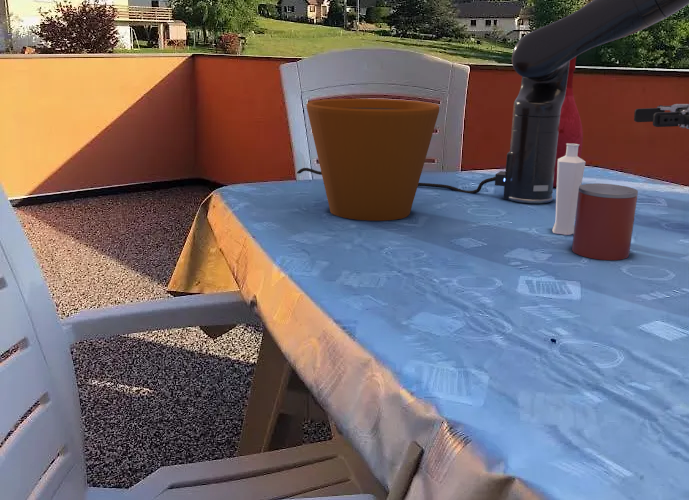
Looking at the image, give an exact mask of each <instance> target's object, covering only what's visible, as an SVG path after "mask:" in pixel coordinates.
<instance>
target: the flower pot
mask: <svg viewBox="0 0 689 500" xmlns="http://www.w3.org/2000/svg"><path fill="white" fill-rule="evenodd" d="M306 111H307V116H308V120H309V124H310V125H309V126H310V129H311V134H312V137H313V142H314V147H315V151H316V155H317V159H318V164H319V168H320V172H321V173H322V175H321V176H322V182H323V185H324V191H325V194H326V199H327V203H328V208H329V212H330V213H331V215H333V216H337V217H339V218H344V219H350V220H356V221H368V222H369V221H370V222H371V221H373V222H374V221H376V222H377V221H379V222H381V221H382V222H383V221H393V220H395V221H396V220H400V219H401V220H402V219H405V218H407V217H409V216H410V214H411V211H412V207H413V204H414V201H415V196H416V193H417V190H418V187H419V186H418V183H420V179H421V176H422V173H423V169H424V165H425V162H426V159H427V155H428V152H429V148H430V145H431V141H432V138H433V134H434V131H435V127H436V124H437V120H438V117H439V113H440V105H438V104H437V103H434V102H433V103H432V102H427V101H421V100H408V99H394V98H393V99H390V98H327V99H314V100H310V101H308V102H307V103H306Z"/></svg>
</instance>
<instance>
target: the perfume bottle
mask: <svg viewBox="0 0 689 500" xmlns="http://www.w3.org/2000/svg"><path fill="white" fill-rule="evenodd" d="M566 145H567V148H566V155H565V156H563V157H561V158H559V159H558V163H557V187H556V190H555V191H556V192H555V219H554V221H555V222H554V224H553V227H552V233H553V234H556V235H557V234H558V235H564V236H570V235H574V226H575V217H576V208H577V199H578V191H579V186H580V185H583V184H582V183H583V178H584V173H585V168H586V161H585V160H584V159H583V158H582V157H581V158H579V157H578V156H577V155H578V146H579V144H573V143H567V144H566Z"/></svg>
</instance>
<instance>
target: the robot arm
mask: <svg viewBox="0 0 689 500" xmlns="http://www.w3.org/2000/svg"><path fill="white" fill-rule="evenodd" d="M688 5H689V0H591V1H590V2H588V3H586V5H585V4H584V6H582V7H580V8H579V9H578V10H575V11H574V12H572V13H571V14H569V15H567V16H564V17H563V18H561V19H558V20H555V21H554V22H551V23H549V24H546V25H544V26H543V27H540V28H538V29H534V30H533V31H530V32H528V33H527V34H525V35H524V36H522V37H521V38H520V39H519V40H518V42H516V44H515V46H514V48H513V50H512V54H511V65H512V68H513V70H514V71H515V72H516V74H518V75H519V76H520V77H521V82H520V89H519V92H518V94H517V96H516V98H515V99H514V101H513V105H512V106H513V107H512V121H511V131H510V132H511V134H510V143H509V144H510V145H509V151H508V152H507V153H506V159H505V160H506V161H505V170H499V172H497V173H495V176H493V177H489V178H485V179H483V180H482V181H480V182H479V184H478V186H477V187H476V189H472V190H466V189H461V188H458V187H455V186H452V185H449V184H441V183H430V182H419V183H418V187H427V188H439V189H447V190H451V191H454V192H459V193H466V194H471V195H472V194H474V195H475V194H479V192H481V190H482V189H483V188H482V187H483V186H484V185H486V184H487V183H491V182H494V186H495V187H496V186H498V187H503V195H502V196H503V197H502V199H503V200H508V201H512V202H516V203H522V204H547V203H551V202H552V201H553V193H554V187H553V182H554V173H555V163H556V153H557V144H558V134H559V124H560V114H561V107H562V104H563V102H564V99H565V94H566V87H567V80H568V72H569V64H570V60H571V59H573V58H575V57H576V58H577V57H578V56H580V55H582V54H583V53H585V52H587V51H589V50H591V49H594V48H596V47H599V46H602V45H604V44H607V43H610V42H614V41H617V40H619V39H622V38H626V37H628V36H631V35H633V34H635V33H637V32H640V31H642V30H644V29H645V30H646V29H647V28H649V27H651V26H654V25H655V24H657V23H659V22H661V21H662V20H664V19H666V18H669V17H670V16H672V15H674V14H675V13H677V12H679V11H680V10H682V9H683V8H685V7H686V6H688ZM633 113H634V115H633V120H634V122H635V123H652V126H653V127H655V128H671V127H679V128H681V129H688V130H689V103H673V104H672V105H663V104H662V105H661V104H660V105H657V106H656V107H648V108H647V107H646V108H645V107H644V108H643V107H642V108H636V109H635V110H634V112H633ZM303 172H309V173H312V174H315V175H320V176H322V173H321V170H320V171H319V170H315V169H313V168H310V167H302V168H300V169H299V170H297V172H296V174H297V175H298V174H302V173H303Z"/></svg>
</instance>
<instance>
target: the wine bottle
mask: <svg viewBox="0 0 689 500" xmlns="http://www.w3.org/2000/svg"><path fill="white" fill-rule="evenodd" d="M576 63H577V56H576V57H575V58H573V59H571V60H570V64H569V72H568V80H567V87H566V94H565V99H564V102H563V104H562V107H561V114H560V124H559V134H558V144H557V153H556V163H555V173H554V182H553V188H557V163H558V159H559V158H561V157H563V156H565V155H566V148H567V145H566V144H567V143H573V144H579V146H578V155H577V156H578V157H579V158H581V159H582V152H583V151H582V150H583V142H584V141H583V140H584V130H583V125H582V119H581V116H580V112H579V110H578V106H577V103H576V100H575V96H574V88H573V87H574V86H573V83H574V82H573V81H574V72H575V70H576Z"/></svg>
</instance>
